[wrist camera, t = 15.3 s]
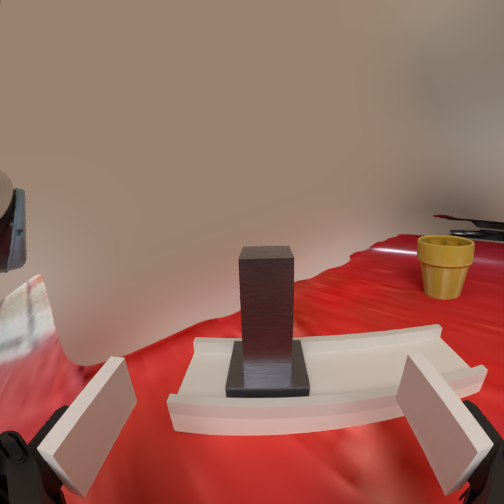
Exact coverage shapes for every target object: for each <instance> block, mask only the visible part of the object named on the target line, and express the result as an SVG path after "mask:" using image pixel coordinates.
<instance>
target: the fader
mask: <svg viewBox="0 0 504 504" xmlns="http://www.w3.org/2000/svg"><path fill="white" fill-rule="evenodd" d="M239 281H240V303H241V325H242V341H234V345H233V351H232V356H231V361H230V366H229V371H228V376H227V381H226V386H225V391H226V398H287V397H307V396H309V393H310V383H309V378H308V374H307V369H306V364H305V360H304V355H303V350H302V346H301V341H300V340H293V304H294V257H293V254H292V252H291V250H290V247H289V246H261V247H260V246H259V247H257V246H256V247H243V249H242V252H241V254H240V256H239Z"/></svg>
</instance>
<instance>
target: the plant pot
mask: <svg viewBox="0 0 504 504" xmlns="http://www.w3.org/2000/svg"><path fill="white" fill-rule="evenodd" d="M473 257H474V242H473V241H472V240H469V239H466V238H462V237H456V236H446V235H431V236H423V237H420V238H418V241H417V258H418V260H419V261H420V262H421V270H422V278H423V287H424V293H425V294H426V295H428V296H430V297H433V298H437V299H454V298H457V297H459V296H460V293H461V290H462V287H463V284H464V281H465V278H466V274H467V271H468V268H469V265H471V264H472V263H473Z"/></svg>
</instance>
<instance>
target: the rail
mask: <svg viewBox="0 0 504 504" xmlns="http://www.w3.org/2000/svg"><path fill="white" fill-rule="evenodd" d="M441 331H442V327H441V326H440V325H438V324H435V325H428V326H421V327H414V328H406V329H398V330H389V331H380V332H370V333H359V334H346V335H332V336H315V337H293V340H300V341H301V346H302V350H303V355H304V360H305V364H306V369H307V374H308V378H309V383H310V393H309V396H307V397H287V398H226V391H225V386H226V381H227V376H228V371H229V366H230V361H231V356H232V351H233V345H234V341H242V338H199V337H195V339H194V342H193V345H194V352H195V353H194V355H193V358H192V360H191V363H190V365H189V367H188V370H187V372H186V375H185V377H184V379H183V382H182V384H181V387H180V389H179V392H178V394H170V395H169V397H168V400H167V406H168V409H169V413H170V417H171V420H172V424H173V427H174V431H179V432H187V433H197V434H209V435H280V434H295V433H307V432H317V431H325V430H333V429H340V428H347V427H353V426H359V425H365V424H370V423H375V422H380V421H384V420H389V419H393V418H397V417H401V416H405V415H404V413H403V411H402V410H401V408H400V406H399V404H398V402H397V400H396V399H395V398H396V395H397V392H398V388H399V385H400V381H401V378H402V374H403V370H404V367H405V363H406V359H407V355H408V354H412V353H417V352H421V353H422V354H423V355H424V356H425V357H426V358H427V360H428V361H429V362H430V363H431V364H432V366H433V367H434V368H435V369H436V370H437V372H438V373H439V374H440V375H441V376H442V378H443V379H444V380H445V381H446V382H447V384H448V385H449V386H450V387H451V389H452V390H453V391H454V392H455V394H456V395H457V396H458V397H459V399H461V398H463V397H466V396H469V395H471V394H474V393H476V392H479V391H480V389H481V386H482V384H483V381H484V379H485V376H486V374H487V371H488V370H487V369H486V368H485V367H484V366H483V365H479V366H476V367H473V368H470V367H469V366H468V365H467V364H466V363H465V362H464V361H463V360H462V359H461V358H460V357H459V356H458V355H457V354H456V353H455V352H454V351H453V350H452V349H451V348H450V347H449V346H448V345H447V344H446V343H445V342H444V341H443V340H442V339H441V338H440V335H441Z"/></svg>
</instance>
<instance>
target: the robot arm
mask: <svg viewBox="0 0 504 504" xmlns="http://www.w3.org/2000/svg"><path fill="white" fill-rule="evenodd" d="M0 3H1V0H0ZM25 261H26V221H25V192H24V190H22V189H18V188H15V189H14V190H13V186H12V183H11V180H10V178H9V177H8V175H6V173H4V172H3V171H0V273H3V272H4V273H7V272H8V271H10V270H14V269H18V268H21V267H22V266H23V265H24V264H25ZM395 399H396V400H397V402H398V404H399V406H400V408H401V410H402V411H403V413H404V415H405V417H406V419H407V421H408V422H409V424H410V426H411V428H412V430H413V432H414V434H415V436H416V438H417V440H418V442H419V443H420V445H421V447H422V449H423V451H424V453H425V455H426V457H427V459H428V461H429V463H430V465H431V467H432V469H433V471H434V473H435V475H436V478H437V480H438V482H439V484H440V486H441V488H442V490H443V492H444V495H448V494H450V493H452V492H455V491H457V490H459V489H461V488H462V487H463V485H464V484H465V483H466V482H467V480H468V482H469V484H470V486H469V487H468V488H467V489H466V491H465V492H464V493H463V494H462V495H461V496H460V498H459V500H460V501H461V499H462V498H463V497H464V496H465V498H464V501H463V504H504V440H503V439H502V438H501V436H500V435H499V434H498V432H497V431H496V430H495V428H494V427H493V426H492V425H491V423H490V422H489V421H488V420H487V418H486V417H485V416H484V414H483V415H482V412H481V411H480V409H479V408H478V407H477V406H476V405H475V404H473V403H472V402H470V401H469V400H465V401H461V400H460V399H459V397H458V396H457V395H456V394H455V392H454V391H453V390H452V389H451V387H450V386H449V385H448V384H447V382H446V381H445V380H444V379H443V378H442V376H441V375H440V374H439V373H438V372H437V370H436V369H435V368H434V367H433V366H432V364H431V363H430V362H429V361H428V360H427V358H426V357H425V356H424V355H423V354H422V353H421V352H417V353H412V354H408V355H407V359H406V363H405V367H404V370H403V374H402V378H401V381H400V385H399V388H398V392H397V395H396V398H395ZM136 403H137V399H136V396H135V392H134V389H133V386H132V382H131V379H130V376H129V372H128V368H127V365H126V361H125V358H120V357H113V356H111V357H110V358H109V360H108V361H107V362H106V363H105V364H104V365H103V367H102V368H101V369H100V370H99V371H98V373H97V374H96V375H95V376H94V377H93V379H92V380H91V381H90V382H89V383H88V385H87V386H86V387H85V388H84V389H83V391H82V392H81V393H80V394H79V396H78V397H77V398H76V399H75V400H74V402H73V403H72V404H71V405H70V407H69V406H66V405H64V406H63V407H61V408H59V409H58V410H56V411H55V412H54V413H53V415H52V416H51V417H50V420H48V421H47V422H46V423H45V426H43V427H42V428H41V429H40V430H39V432H38V433H37V434H36V435H35V437H34V438H33V439H32V440H31V442H30V443H29V444H28V445H27V444H26V442H25V441H24V439H23V438H22V436H21V435H20V434H19V433H18V432H15V431H5V432H3V433H1V434H0V504H66V501H65V498H64V494H63V492H62V490H61V489H60V488H61V486H62V485H63V484H64V485H65V487H66V488H67V489H68V490H69V491H70V492H72V493H74V494H77V495H79V496H81V497H84V498H85V497H86V495H87V494H88V492H89V490H90V488H91V486H92V484H93V482H94V480H95V478H96V476H97V474H98V473H99V471H100V469H101V467H102V465H103V463H104V461H105V459H106V458H107V456H108V454H109V452H110V450H111V448H112V447H113V445H114V443H115V441H116V439H117V437H118V436H119V434H120V432H121V430H122V428H123V426H124V425H125V423H126V421H127V419H128V417H129V416H130V414H131V412H132V410H133V408H134V407H135V405H136Z"/></svg>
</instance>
